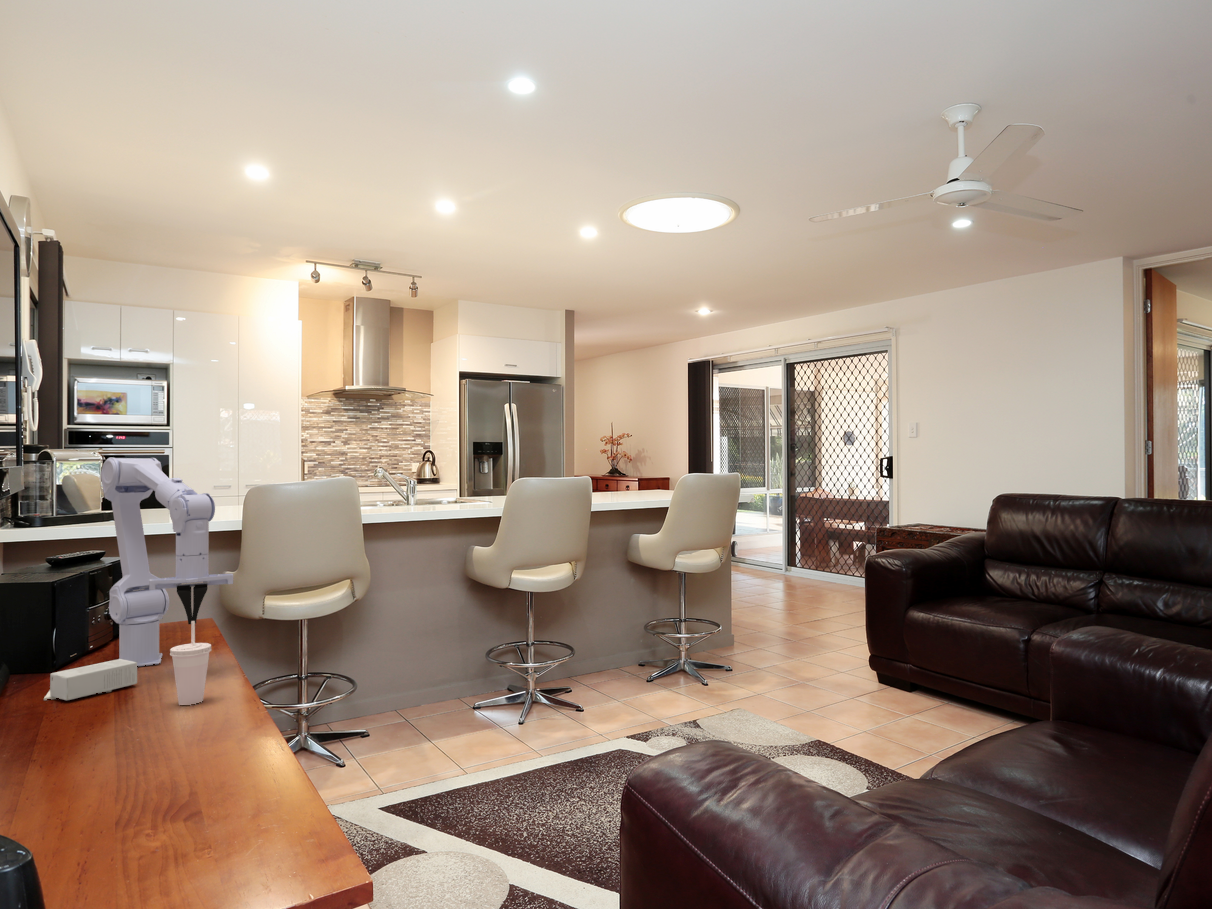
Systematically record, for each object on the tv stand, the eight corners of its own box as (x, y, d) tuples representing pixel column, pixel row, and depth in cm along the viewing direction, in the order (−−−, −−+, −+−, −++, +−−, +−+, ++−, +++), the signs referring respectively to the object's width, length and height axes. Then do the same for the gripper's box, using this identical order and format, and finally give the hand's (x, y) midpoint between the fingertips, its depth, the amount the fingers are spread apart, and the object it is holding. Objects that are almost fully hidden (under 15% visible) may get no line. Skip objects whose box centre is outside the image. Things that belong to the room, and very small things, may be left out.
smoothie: (219, 697, 132) (219, 618, 132) (196, 708, 125) (196, 625, 126) (185, 696, 132) (185, 618, 133) (160, 708, 126) (161, 625, 126)
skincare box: (121, 680, 143) (49, 696, 132) (121, 658, 143) (49, 672, 132) (138, 684, 139) (65, 701, 129) (138, 661, 140) (66, 676, 129)
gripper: (148, 558, 140) (148, 630, 140) (233, 554, 147) (233, 622, 147) (150, 555, 146) (150, 624, 146) (232, 551, 153) (232, 616, 153)
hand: (192, 623), depth 147 cm, fingers closed
